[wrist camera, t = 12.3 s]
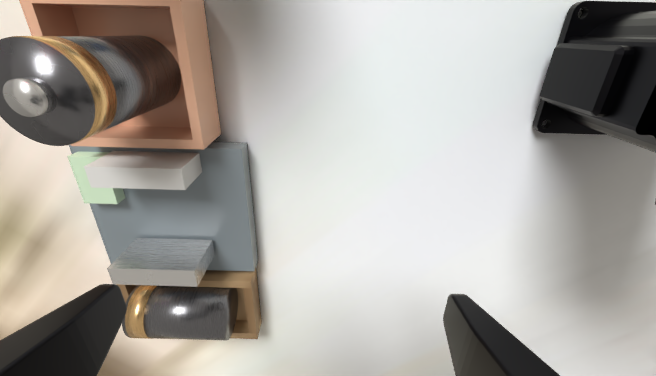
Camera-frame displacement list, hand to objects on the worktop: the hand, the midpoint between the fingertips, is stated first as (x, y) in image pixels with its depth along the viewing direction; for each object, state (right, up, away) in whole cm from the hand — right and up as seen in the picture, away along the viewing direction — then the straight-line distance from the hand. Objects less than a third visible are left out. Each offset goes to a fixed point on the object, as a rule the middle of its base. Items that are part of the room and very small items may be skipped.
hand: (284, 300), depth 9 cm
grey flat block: (-9, +2, +13) cm, 16 cm away
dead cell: (-9, +9, +8) cm, 15 cm away
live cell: (-9, -5, +16) cm, 19 cm away
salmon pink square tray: (-9, +10, +9) cm, 16 cm away
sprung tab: (-9, -1, +12) cm, 15 cm away
